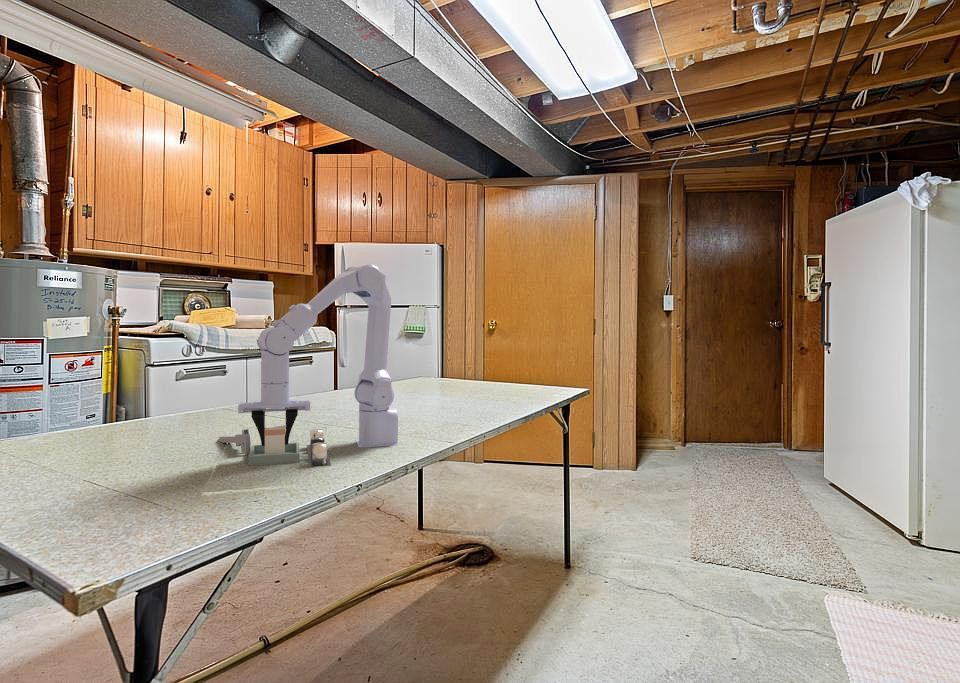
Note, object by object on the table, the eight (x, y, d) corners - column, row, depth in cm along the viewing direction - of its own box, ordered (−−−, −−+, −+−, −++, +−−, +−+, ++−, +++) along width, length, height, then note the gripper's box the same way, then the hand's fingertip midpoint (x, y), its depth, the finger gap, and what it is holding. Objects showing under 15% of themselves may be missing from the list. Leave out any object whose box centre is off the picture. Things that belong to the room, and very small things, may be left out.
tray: (299, 452, 120) (299, 442, 119) (299, 464, 110) (299, 453, 110) (251, 455, 116) (251, 445, 116) (248, 467, 107) (248, 456, 107)
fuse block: (325, 445, 126) (325, 427, 126) (331, 467, 108) (331, 446, 108) (306, 447, 124) (306, 428, 124) (308, 469, 107) (309, 447, 106)
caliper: (250, 458, 115) (251, 430, 115) (245, 458, 114) (245, 430, 114) (222, 440, 130) (222, 416, 130) (217, 441, 129) (217, 416, 129)
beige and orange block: (285, 451, 116) (285, 424, 116) (284, 456, 112) (285, 428, 112) (265, 452, 114) (265, 425, 114) (264, 457, 111) (264, 429, 110)
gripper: (309, 379, 119) (309, 438, 119) (240, 380, 114) (240, 442, 114) (310, 383, 112) (310, 445, 113) (237, 385, 107) (237, 449, 108)
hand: (275, 444), depth 113 cm, fingers closed on beige and orange block, 4 cm apart
